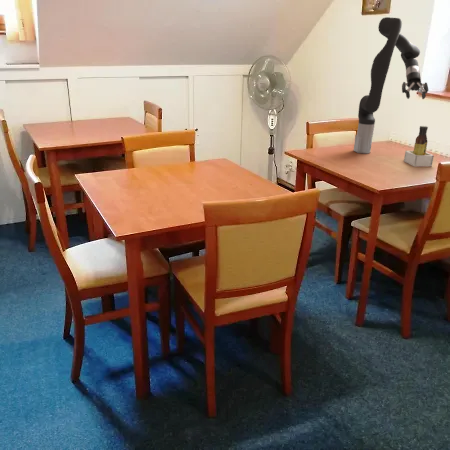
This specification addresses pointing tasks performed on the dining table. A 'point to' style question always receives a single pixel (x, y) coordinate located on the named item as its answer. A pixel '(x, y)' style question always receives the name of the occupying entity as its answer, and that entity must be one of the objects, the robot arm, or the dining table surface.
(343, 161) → the dining table surface
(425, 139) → the sauce bottle
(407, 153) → the bottle holder
